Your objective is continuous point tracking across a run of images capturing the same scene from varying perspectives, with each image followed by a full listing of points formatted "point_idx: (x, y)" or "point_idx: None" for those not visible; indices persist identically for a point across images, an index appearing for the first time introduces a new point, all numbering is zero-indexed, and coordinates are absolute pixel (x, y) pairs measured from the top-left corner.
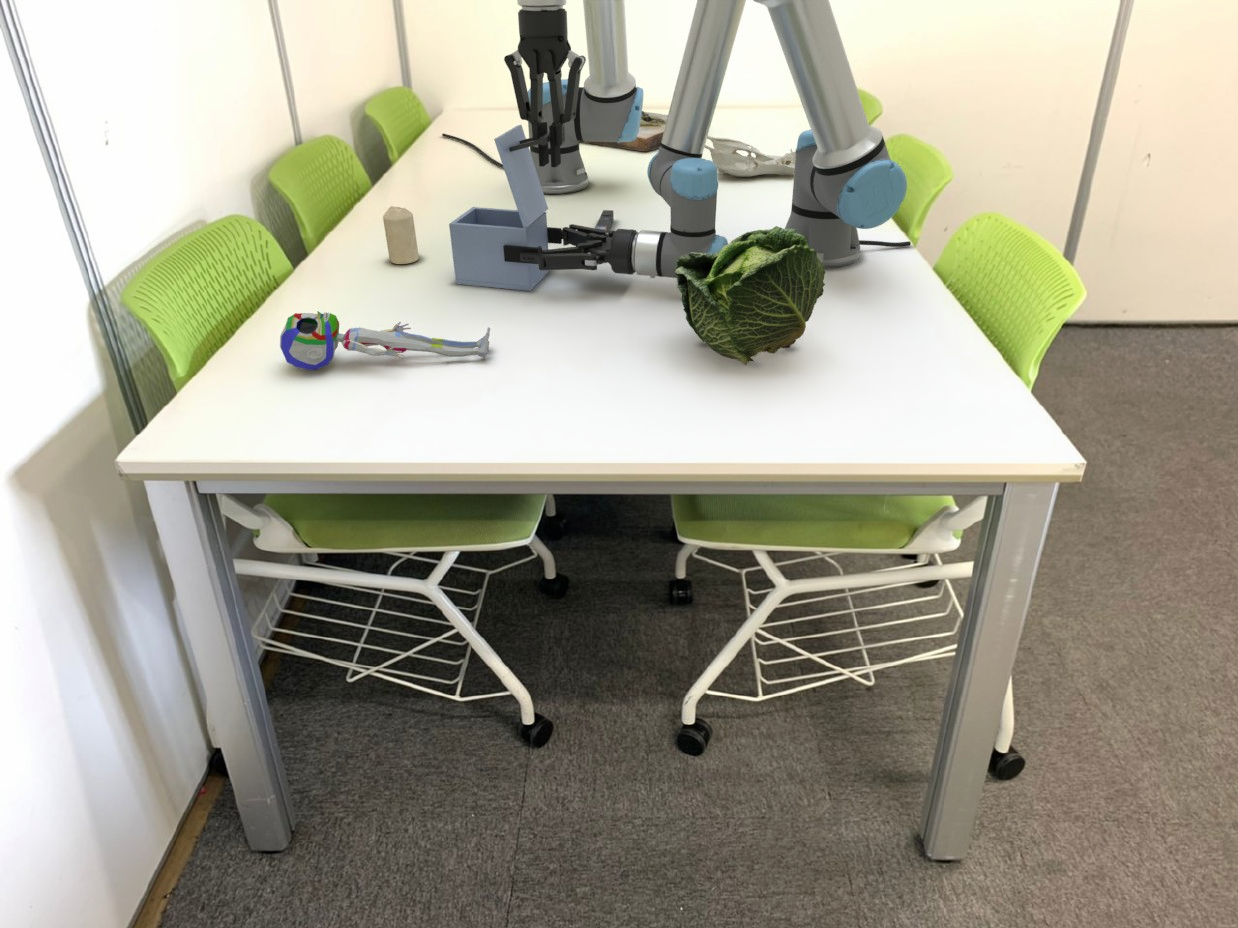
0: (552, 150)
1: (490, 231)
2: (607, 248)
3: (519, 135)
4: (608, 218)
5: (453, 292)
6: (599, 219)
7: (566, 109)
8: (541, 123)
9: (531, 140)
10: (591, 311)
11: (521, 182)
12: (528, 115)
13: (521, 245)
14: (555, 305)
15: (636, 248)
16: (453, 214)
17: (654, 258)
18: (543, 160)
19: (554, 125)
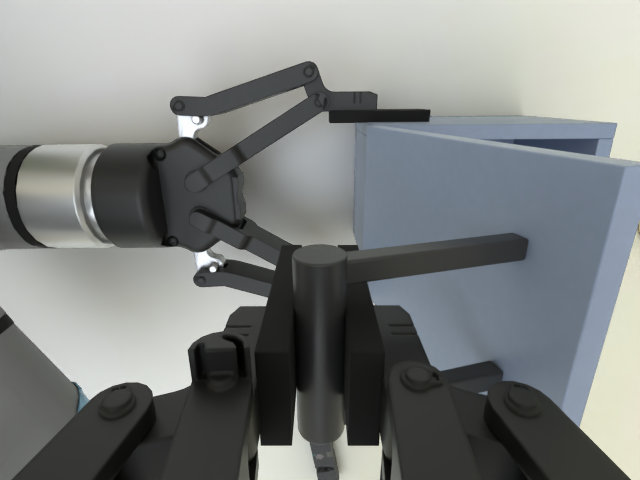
0: (286, 276)
1: (480, 123)
2: (168, 168)
3: None
4: (315, 458)
5: (516, 68)
6: (330, 450)
7: (80, 471)
8: (374, 412)
9: None
10: (191, 38)
11: (423, 205)
12: (481, 426)
13: (382, 122)
14: (276, 51)
15: (78, 154)
16: (619, 454)
17: (42, 147)
18: None
19: (234, 341)
